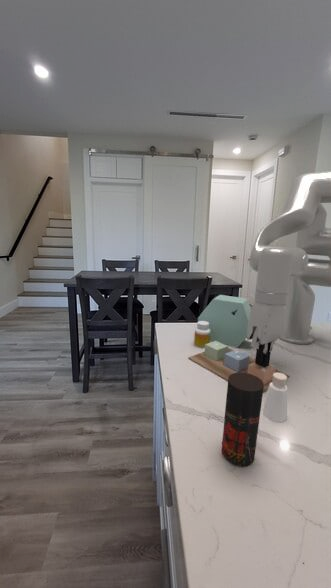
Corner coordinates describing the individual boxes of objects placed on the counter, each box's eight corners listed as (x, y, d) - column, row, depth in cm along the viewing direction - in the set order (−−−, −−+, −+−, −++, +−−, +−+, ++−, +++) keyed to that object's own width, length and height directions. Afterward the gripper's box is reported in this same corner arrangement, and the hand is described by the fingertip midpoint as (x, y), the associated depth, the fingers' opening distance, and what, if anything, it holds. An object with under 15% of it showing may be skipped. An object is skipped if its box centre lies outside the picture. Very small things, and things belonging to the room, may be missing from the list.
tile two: (234, 361, 82) (235, 349, 81) (248, 368, 78) (249, 355, 77) (223, 366, 79) (225, 353, 78) (237, 373, 75) (239, 359, 74)
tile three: (257, 372, 76) (259, 359, 75) (273, 380, 72) (275, 366, 71) (246, 378, 73) (248, 364, 72) (263, 386, 69) (265, 372, 68)
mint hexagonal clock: (230, 352, 102) (266, 314, 92) (224, 360, 95) (263, 320, 86) (197, 322, 106) (229, 283, 97) (189, 328, 99) (222, 286, 90)
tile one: (214, 352, 88) (215, 340, 87) (226, 357, 84) (227, 345, 83) (204, 356, 85) (205, 343, 84) (216, 362, 81) (217, 349, 80)
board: (221, 350, 93) (222, 345, 92) (288, 381, 74) (289, 375, 74) (188, 363, 83) (188, 357, 82) (255, 402, 65) (256, 395, 64)
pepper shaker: (265, 408, 63) (271, 366, 60) (289, 419, 59) (297, 374, 57) (256, 420, 58) (262, 375, 56) (282, 433, 55) (290, 385, 53)
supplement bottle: (208, 353, 90) (210, 326, 88) (193, 351, 91) (194, 324, 89) (209, 346, 95) (211, 320, 93) (194, 344, 96) (196, 319, 94)
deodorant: (217, 441, 52) (223, 372, 49) (247, 440, 53) (255, 372, 49) (226, 468, 46) (234, 391, 43) (259, 466, 47) (270, 391, 44)
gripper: (272, 291, 74) (264, 352, 78) (239, 298, 65) (232, 366, 69) (299, 297, 68) (289, 362, 73) (267, 305, 59) (258, 379, 63)
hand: (261, 364), depth 71 cm, fingers closed
